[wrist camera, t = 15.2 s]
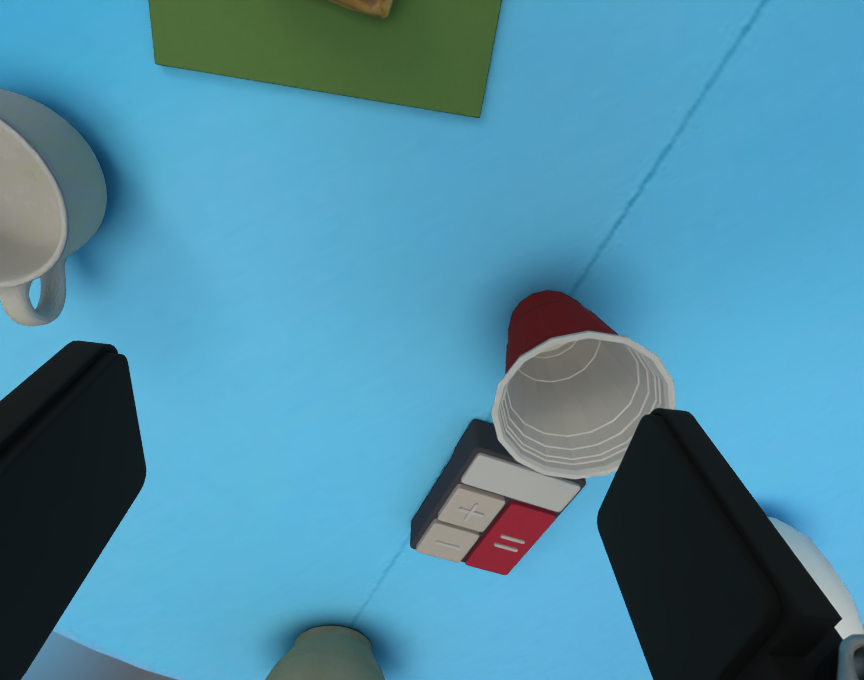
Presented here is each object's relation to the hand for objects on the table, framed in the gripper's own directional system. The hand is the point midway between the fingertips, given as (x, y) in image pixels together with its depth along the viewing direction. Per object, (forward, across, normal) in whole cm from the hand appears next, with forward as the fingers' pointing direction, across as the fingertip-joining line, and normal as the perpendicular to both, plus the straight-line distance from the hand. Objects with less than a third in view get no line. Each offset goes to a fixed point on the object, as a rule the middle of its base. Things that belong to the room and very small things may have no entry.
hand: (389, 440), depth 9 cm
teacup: (+28, +24, +6) cm, 38 cm away
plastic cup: (+28, -12, +11) cm, 33 cm away
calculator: (+28, -12, +30) cm, 43 cm away
